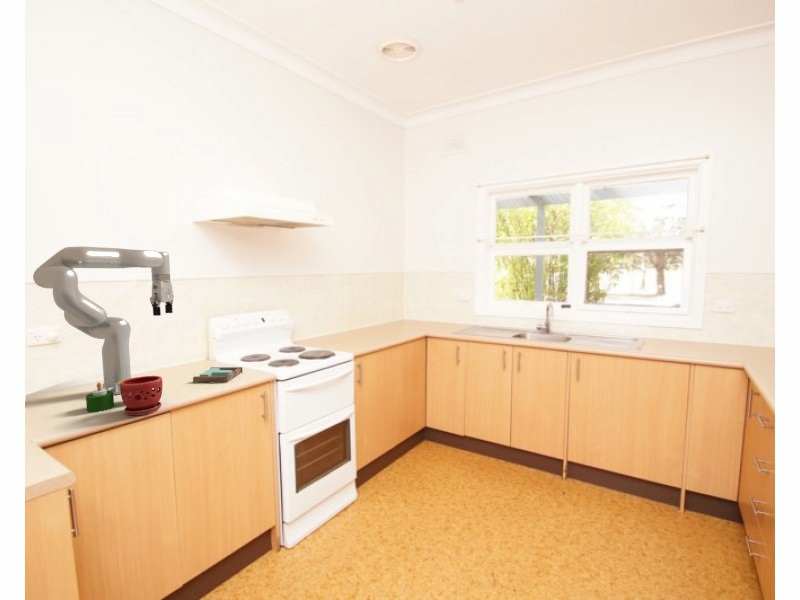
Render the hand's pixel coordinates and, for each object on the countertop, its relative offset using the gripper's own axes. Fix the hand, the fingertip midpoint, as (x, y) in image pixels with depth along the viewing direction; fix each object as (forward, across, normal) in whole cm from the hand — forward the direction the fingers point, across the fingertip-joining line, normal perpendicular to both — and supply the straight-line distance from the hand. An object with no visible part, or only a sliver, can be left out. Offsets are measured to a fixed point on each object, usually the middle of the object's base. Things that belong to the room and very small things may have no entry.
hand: (163, 314), depth 194 cm
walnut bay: (+30, -1, -25) cm, 39 cm away
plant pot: (+31, -46, -18) cm, 58 cm away
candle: (+31, -43, 0) cm, 53 cm away
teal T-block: (+30, -1, -26) cm, 40 cm away
